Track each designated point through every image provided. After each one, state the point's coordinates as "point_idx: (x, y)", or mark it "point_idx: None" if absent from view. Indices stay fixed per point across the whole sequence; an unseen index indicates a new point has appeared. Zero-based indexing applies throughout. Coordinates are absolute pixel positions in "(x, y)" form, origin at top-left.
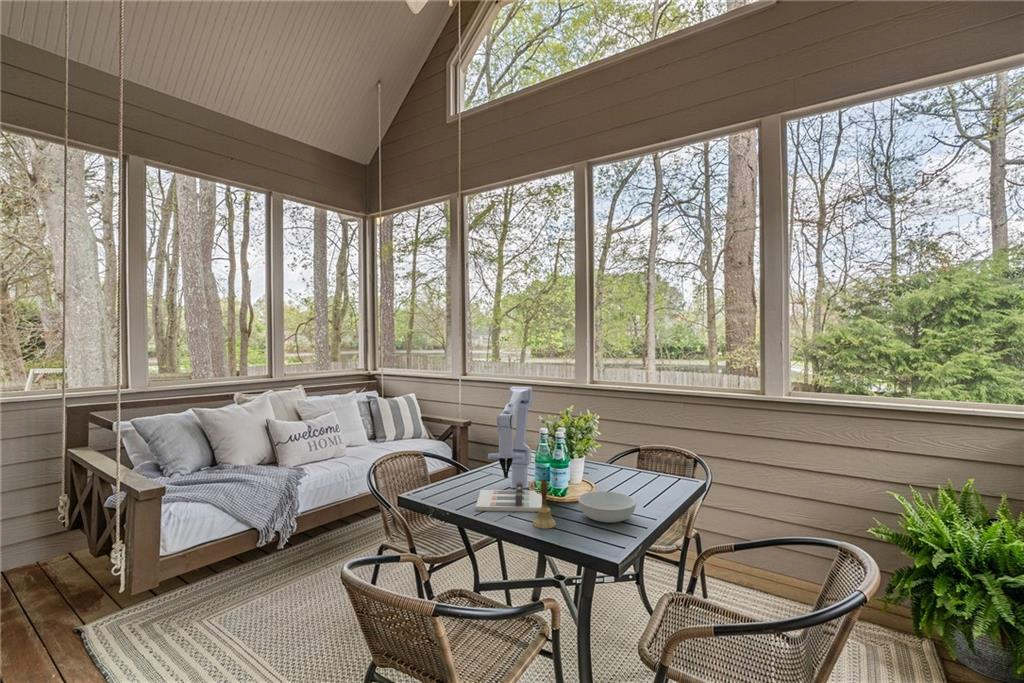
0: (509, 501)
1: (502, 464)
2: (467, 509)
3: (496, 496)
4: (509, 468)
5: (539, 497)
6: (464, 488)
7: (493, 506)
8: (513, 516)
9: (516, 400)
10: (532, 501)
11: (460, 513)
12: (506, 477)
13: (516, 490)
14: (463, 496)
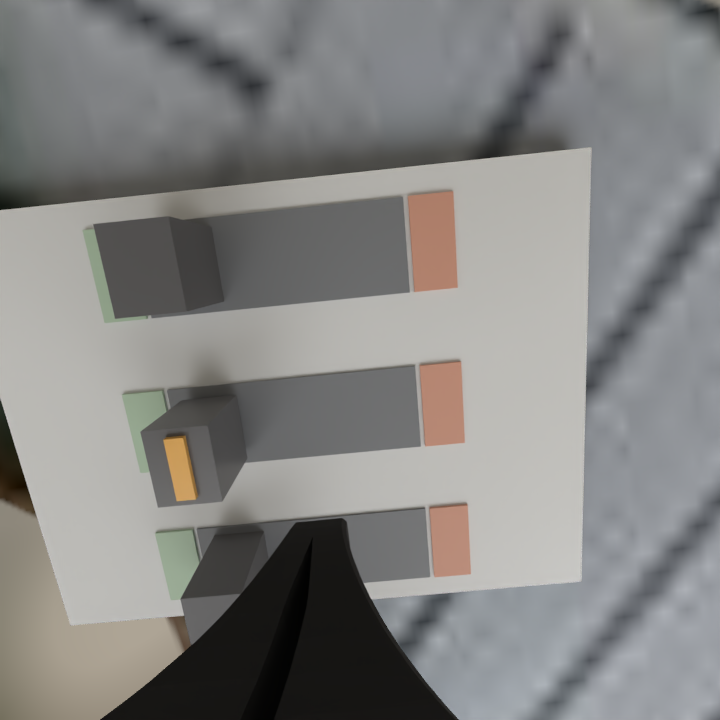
0: (290, 337)
1: (373, 712)
2: (645, 177)
3: (426, 437)
4: (197, 640)
5: (51, 470)
6: (706, 642)
7: (416, 178)
8: (208, 58)
9: None
10: (86, 366)
11: (701, 61)
12: (309, 521)
13: (208, 421)
14: (702, 477)
